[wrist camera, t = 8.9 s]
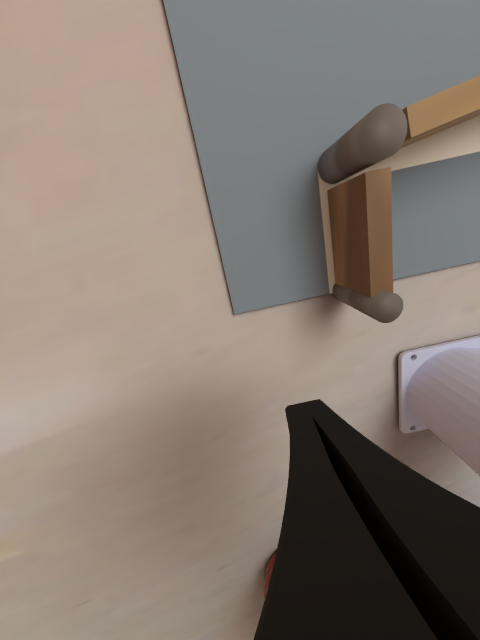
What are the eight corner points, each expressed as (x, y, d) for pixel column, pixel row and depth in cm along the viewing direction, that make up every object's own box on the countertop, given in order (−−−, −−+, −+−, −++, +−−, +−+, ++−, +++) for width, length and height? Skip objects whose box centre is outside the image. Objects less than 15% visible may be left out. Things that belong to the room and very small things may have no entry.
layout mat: (595, -178, 12) (605, -189, 12) (530, 248, 18) (536, 248, 18) (146, -74, 12) (144, -82, 12) (234, 313, 18) (234, 314, 18)
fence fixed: (348, 143, 15) (407, 98, 10) (357, 296, 18) (406, 318, 13) (315, 151, 15) (359, 109, 10) (330, 302, 18) (369, 326, 13)
